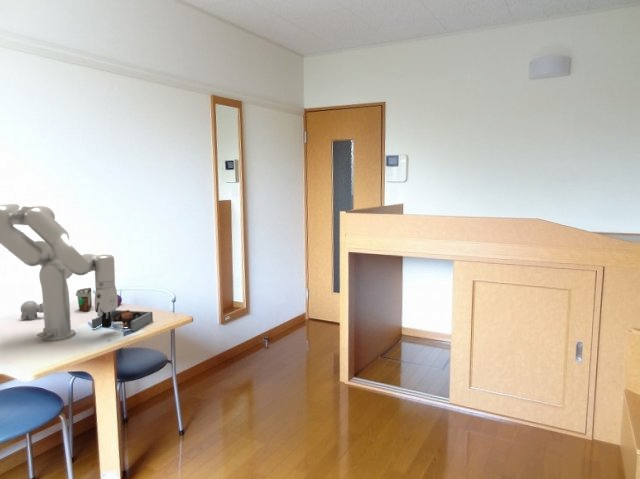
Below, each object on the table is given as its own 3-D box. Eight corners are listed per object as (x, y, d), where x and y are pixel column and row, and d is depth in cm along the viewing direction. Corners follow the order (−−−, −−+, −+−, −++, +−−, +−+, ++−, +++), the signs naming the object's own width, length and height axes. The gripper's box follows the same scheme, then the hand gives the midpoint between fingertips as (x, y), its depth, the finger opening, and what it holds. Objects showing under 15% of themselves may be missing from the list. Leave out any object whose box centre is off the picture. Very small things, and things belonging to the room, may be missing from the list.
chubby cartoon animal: (46, 320, 222) (45, 302, 221) (18, 321, 220) (17, 303, 219) (52, 315, 229) (51, 298, 228) (25, 317, 227) (23, 299, 226)
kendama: (101, 306, 231) (109, 294, 250) (104, 318, 233) (112, 305, 252) (114, 303, 232) (121, 291, 252) (117, 315, 234) (123, 302, 253)
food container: (79, 307, 245) (78, 288, 244) (92, 306, 247) (91, 287, 246) (74, 313, 233) (73, 293, 232) (88, 312, 235) (87, 292, 234)
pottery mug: (117, 332, 205) (110, 314, 207) (117, 336, 213) (111, 319, 215) (145, 321, 211) (138, 304, 212) (144, 325, 219) (137, 309, 220)
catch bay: (133, 331, 204) (133, 321, 203) (92, 329, 207) (91, 319, 206) (152, 321, 220) (152, 311, 219) (114, 319, 223) (113, 310, 222)
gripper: (103, 288, 191) (104, 332, 193) (123, 281, 206) (124, 322, 208) (85, 287, 192) (87, 331, 194) (107, 280, 207) (108, 321, 209)
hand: (106, 326), depth 201 cm, fingers closed
